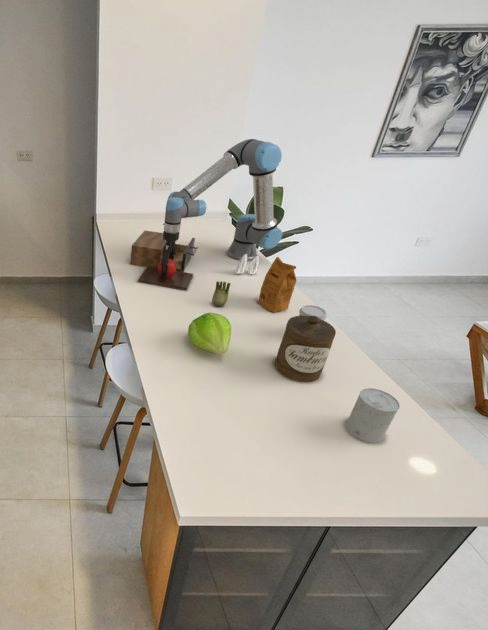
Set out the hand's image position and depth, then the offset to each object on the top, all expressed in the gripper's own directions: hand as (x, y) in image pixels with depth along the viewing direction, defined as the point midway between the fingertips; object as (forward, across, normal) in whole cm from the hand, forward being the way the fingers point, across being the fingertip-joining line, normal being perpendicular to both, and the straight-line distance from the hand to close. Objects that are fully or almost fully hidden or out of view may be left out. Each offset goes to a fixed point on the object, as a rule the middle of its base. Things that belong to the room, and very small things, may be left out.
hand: (166, 271), depth 211 cm
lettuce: (+4, +52, +29) cm, 60 cm away
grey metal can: (+4, +77, +78) cm, 110 cm away
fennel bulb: (+4, +17, +28) cm, 33 cm away
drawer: (+3, -23, 0) cm, 23 cm away
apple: (+2, 0, 0) cm, 2 cm away
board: (+4, 0, 0) cm, 4 cm away
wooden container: (+4, +53, +60) cm, 80 cm away
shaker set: (+4, -22, +36) cm, 42 cm away
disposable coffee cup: (+4, +29, +63) cm, 69 cm away
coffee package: (+4, +8, +50) cm, 51 cm away
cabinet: (+4, -23, -14) cm, 27 cm away
